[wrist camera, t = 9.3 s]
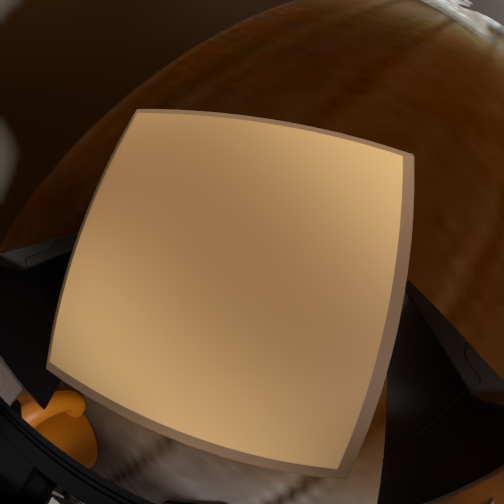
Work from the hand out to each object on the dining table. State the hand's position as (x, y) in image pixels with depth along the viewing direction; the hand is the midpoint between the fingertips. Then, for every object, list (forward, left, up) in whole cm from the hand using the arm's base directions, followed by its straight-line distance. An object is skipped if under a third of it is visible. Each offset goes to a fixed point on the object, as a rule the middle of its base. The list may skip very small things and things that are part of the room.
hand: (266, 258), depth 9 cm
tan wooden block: (-1, -1, -7) cm, 8 cm away
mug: (-21, -11, -12) cm, 26 cm away
